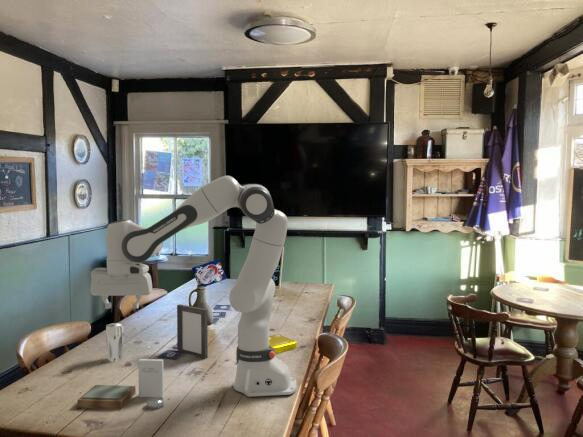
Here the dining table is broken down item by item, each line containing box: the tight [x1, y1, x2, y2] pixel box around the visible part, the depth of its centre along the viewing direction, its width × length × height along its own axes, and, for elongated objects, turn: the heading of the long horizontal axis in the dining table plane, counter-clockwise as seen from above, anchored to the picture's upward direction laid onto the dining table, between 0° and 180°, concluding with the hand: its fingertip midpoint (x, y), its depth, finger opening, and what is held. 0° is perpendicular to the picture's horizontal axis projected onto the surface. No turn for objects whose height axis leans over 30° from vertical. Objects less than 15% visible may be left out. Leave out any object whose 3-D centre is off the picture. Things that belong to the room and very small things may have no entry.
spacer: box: [146, 397, 164, 410], centre depth 154 cm, size 5×5×2 cm
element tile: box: [269, 334, 298, 355], centre depth 211 cm, size 15×15×5 cm
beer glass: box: [105, 322, 125, 363], centre depth 194 cm, size 7×7×15 cm
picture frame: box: [176, 303, 209, 360], centre depth 200 cm, size 16×2×21 cm, turn 56°
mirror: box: [77, 384, 136, 410], centre depth 158 cm, size 14×12×3 cm
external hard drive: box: [138, 358, 165, 398], centre depth 161 cm, size 2×8×12 cm, turn 86°
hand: (122, 308), depth 163 cm, fingers open, 8 cm apart
